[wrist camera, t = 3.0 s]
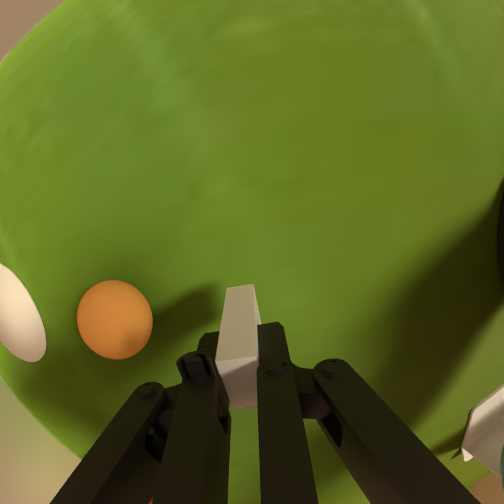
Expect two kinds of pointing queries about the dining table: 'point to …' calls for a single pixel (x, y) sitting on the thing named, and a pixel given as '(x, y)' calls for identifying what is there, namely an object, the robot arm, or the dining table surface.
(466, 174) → the dining table surface
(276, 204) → the dining table surface
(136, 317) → the ball
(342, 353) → the dining table surface
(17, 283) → the disc
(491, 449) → the tablet stand
